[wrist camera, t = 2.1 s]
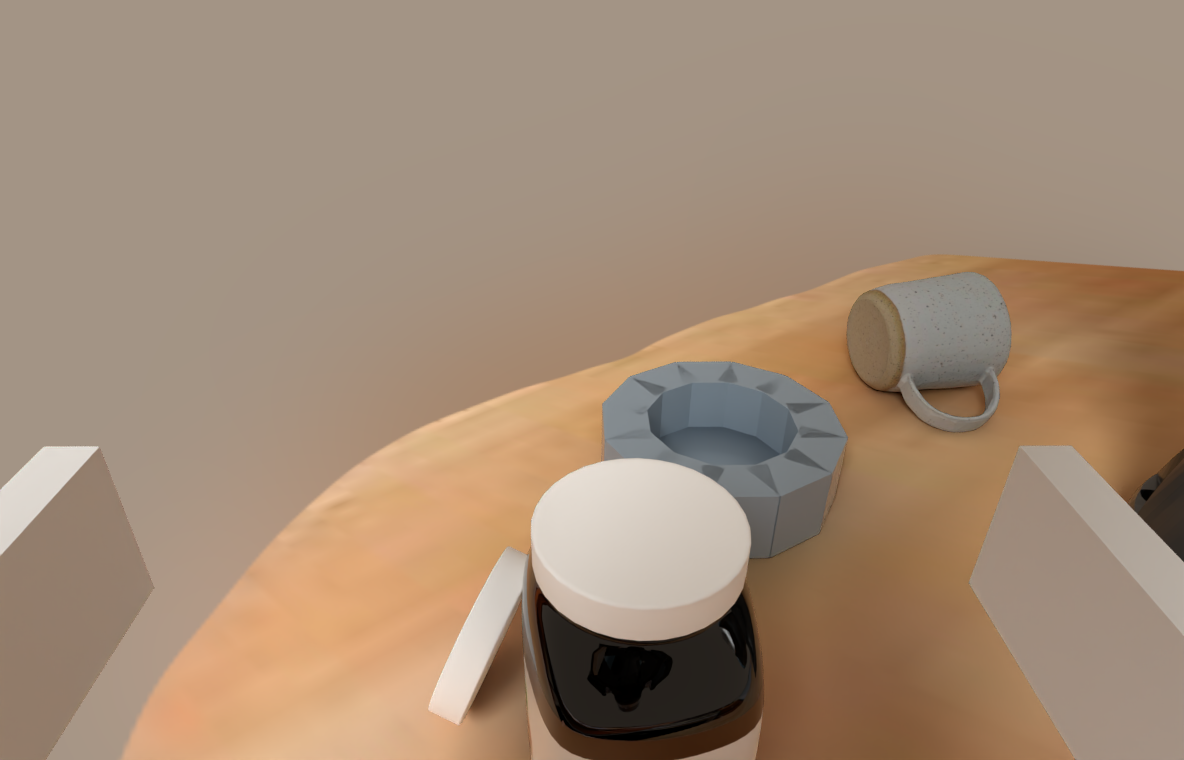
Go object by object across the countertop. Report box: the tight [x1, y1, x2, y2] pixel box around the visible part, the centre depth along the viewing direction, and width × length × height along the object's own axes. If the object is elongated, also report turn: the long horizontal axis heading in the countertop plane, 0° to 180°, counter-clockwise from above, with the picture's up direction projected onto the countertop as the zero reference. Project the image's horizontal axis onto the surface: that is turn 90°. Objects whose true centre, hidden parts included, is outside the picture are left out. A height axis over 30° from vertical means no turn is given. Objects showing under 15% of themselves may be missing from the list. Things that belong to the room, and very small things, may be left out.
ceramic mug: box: [847, 272, 1011, 432], centre depth 50 cm, size 11×8×8 cm
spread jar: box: [429, 458, 764, 760], centre depth 27 cm, size 12×11×12 cm
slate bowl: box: [601, 362, 848, 558], centre depth 43 cm, size 13×13×4 cm
